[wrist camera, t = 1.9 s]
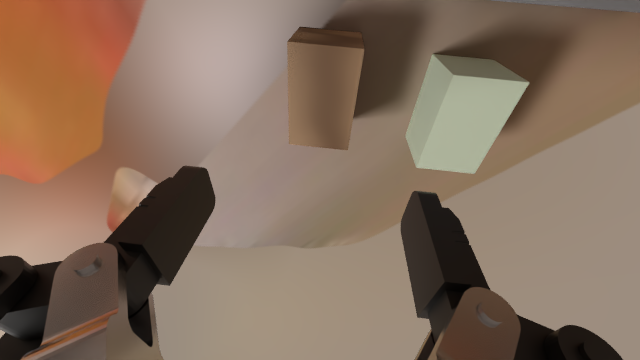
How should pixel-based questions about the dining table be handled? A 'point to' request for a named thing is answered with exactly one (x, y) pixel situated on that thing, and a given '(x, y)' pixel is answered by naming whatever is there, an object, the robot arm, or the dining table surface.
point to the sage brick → (461, 111)
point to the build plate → (588, 4)
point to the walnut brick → (323, 86)
